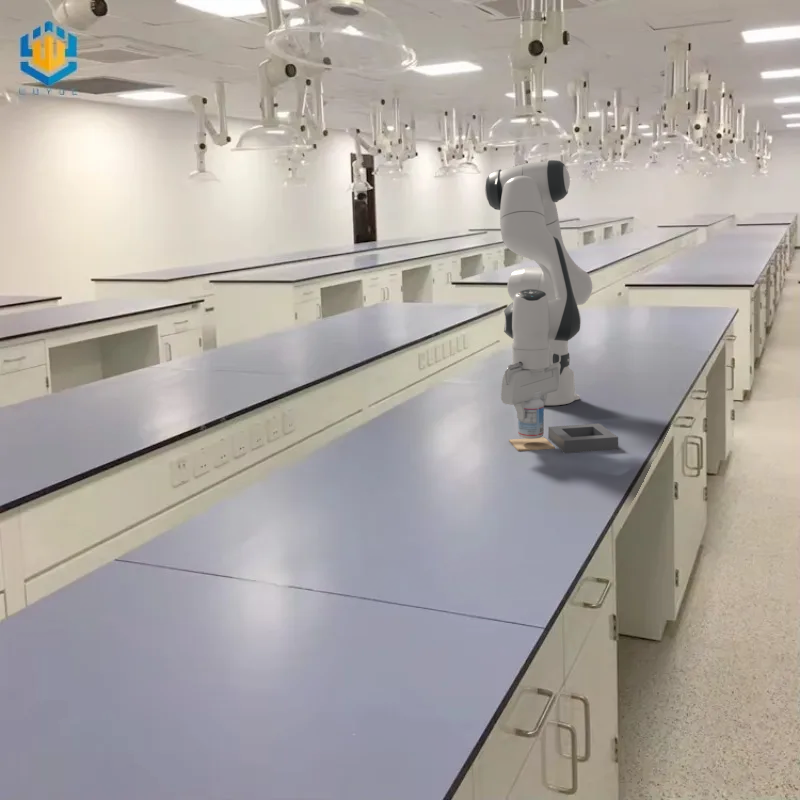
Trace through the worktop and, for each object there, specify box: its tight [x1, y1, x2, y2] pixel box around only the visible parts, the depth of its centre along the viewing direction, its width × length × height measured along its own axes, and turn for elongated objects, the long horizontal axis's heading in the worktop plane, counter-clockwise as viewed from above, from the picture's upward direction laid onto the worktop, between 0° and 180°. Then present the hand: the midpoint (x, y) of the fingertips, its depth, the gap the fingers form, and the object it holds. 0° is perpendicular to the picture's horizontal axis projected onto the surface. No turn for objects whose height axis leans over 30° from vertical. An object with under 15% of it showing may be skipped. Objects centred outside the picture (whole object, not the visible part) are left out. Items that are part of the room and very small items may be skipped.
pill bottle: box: [517, 391, 545, 439], centre depth 206 cm, size 6×6×11 cm
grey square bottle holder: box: [547, 423, 619, 454], centre depth 207 cm, size 13×13×3 cm
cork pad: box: [508, 436, 556, 452], centre depth 208 cm, size 9×9×1 cm
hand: (530, 415), depth 207 cm, fingers closed on pill bottle, 6 cm apart
